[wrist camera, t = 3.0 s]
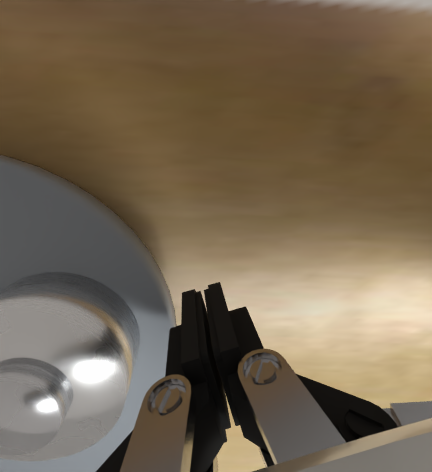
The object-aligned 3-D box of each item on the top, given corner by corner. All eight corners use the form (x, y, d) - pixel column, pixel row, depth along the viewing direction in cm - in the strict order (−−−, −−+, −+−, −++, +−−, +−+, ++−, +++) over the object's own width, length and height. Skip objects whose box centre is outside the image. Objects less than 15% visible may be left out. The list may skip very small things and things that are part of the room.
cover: (109, 254, 11) (68, 302, 7) (158, 373, 13) (146, 460, 9) (-47, 295, 11) (-174, 367, 7) (27, 410, 13) (-40, 513, 9)
